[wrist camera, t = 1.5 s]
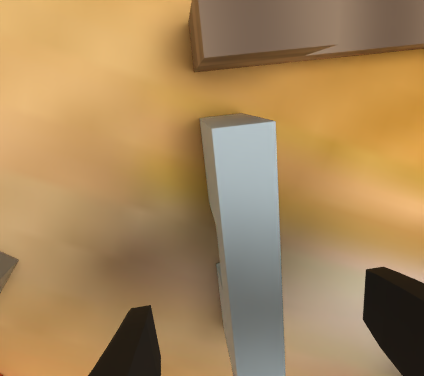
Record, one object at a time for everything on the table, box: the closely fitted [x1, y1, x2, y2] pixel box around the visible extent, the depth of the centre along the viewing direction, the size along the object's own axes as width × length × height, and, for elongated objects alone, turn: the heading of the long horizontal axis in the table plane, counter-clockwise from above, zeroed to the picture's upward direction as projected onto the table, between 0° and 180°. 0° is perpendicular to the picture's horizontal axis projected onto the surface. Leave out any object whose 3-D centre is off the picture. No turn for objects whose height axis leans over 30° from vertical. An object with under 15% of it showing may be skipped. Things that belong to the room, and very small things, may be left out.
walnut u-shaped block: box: [189, 0, 424, 72], centre depth 11 cm, size 16×2×5 cm, turn 96°
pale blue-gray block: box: [200, 113, 285, 376], centre depth 13 cm, size 12×2×5 cm, turn 6°
